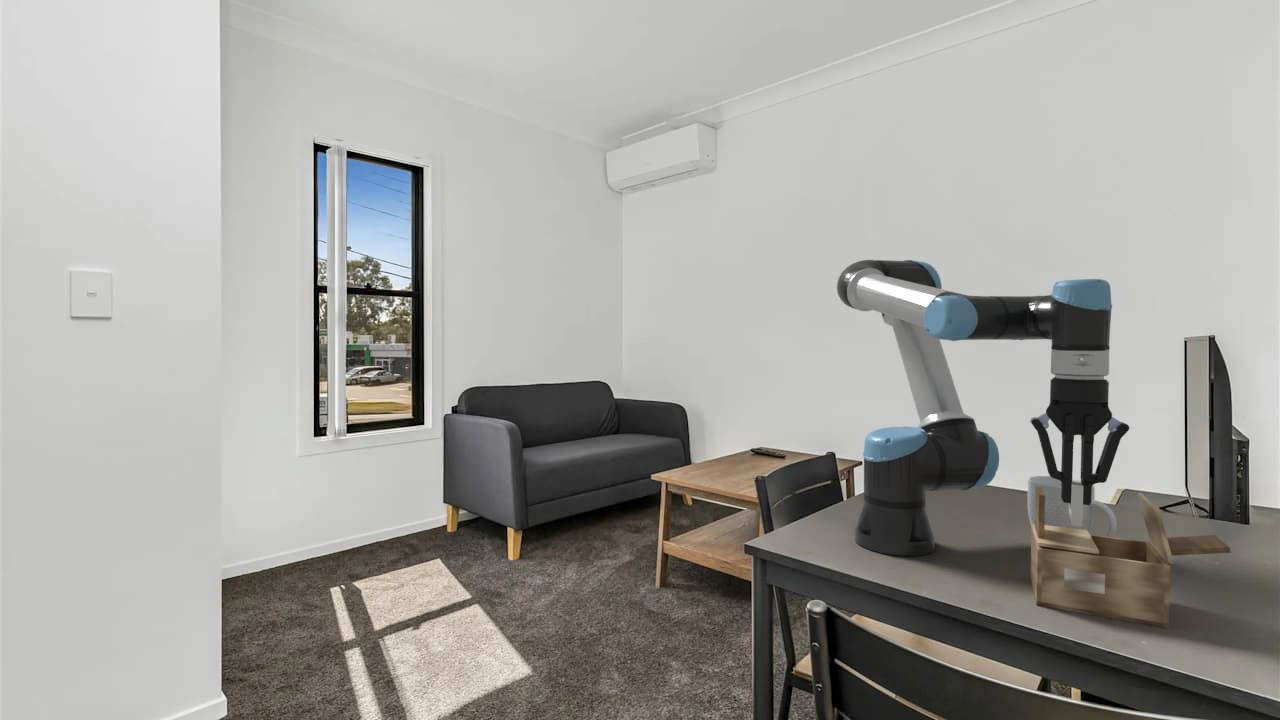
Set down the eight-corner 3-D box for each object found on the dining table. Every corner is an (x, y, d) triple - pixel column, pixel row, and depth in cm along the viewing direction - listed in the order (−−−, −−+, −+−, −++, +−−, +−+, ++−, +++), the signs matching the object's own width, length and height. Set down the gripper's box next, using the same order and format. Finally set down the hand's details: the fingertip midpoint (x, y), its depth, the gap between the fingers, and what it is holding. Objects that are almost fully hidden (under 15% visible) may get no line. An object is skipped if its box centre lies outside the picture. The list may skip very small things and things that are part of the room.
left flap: (1087, 533, 101) (1088, 488, 101) (1099, 554, 91) (1100, 504, 91) (1031, 526, 105) (1032, 483, 104) (1037, 545, 95) (1038, 498, 95)
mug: (1126, 554, 117) (1128, 487, 116) (1103, 566, 111) (1104, 495, 110) (1041, 533, 129) (1042, 473, 129) (1016, 543, 123) (1017, 480, 123)
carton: (1036, 605, 95) (1037, 548, 95) (1030, 578, 105) (1031, 527, 105) (1168, 628, 87) (1170, 567, 87) (1147, 596, 98) (1149, 541, 97)
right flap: (1154, 509, 88) (1222, 504, 84) (1137, 492, 98) (1197, 487, 94) (1169, 563, 87) (1238, 560, 84) (1150, 540, 97) (1211, 537, 93)
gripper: (1032, 377, 96) (1029, 524, 97) (1136, 380, 90) (1132, 536, 91) (1028, 374, 103) (1025, 512, 104) (1125, 376, 96) (1121, 523, 97)
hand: (1075, 523), depth 97 cm, fingers closed
